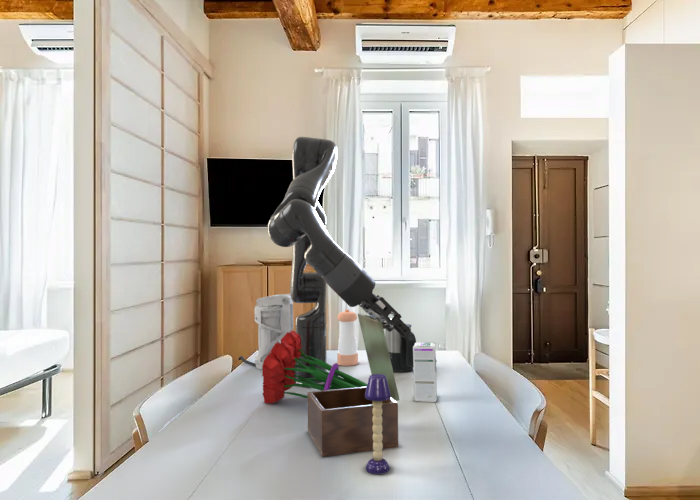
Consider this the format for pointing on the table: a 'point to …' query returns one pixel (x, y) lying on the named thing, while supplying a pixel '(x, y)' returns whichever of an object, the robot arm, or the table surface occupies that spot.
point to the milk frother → (400, 350)
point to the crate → (348, 421)
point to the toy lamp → (377, 421)
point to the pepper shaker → (347, 339)
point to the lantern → (272, 323)
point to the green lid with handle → (378, 350)
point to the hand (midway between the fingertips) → (399, 331)
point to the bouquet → (282, 370)
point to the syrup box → (424, 372)
